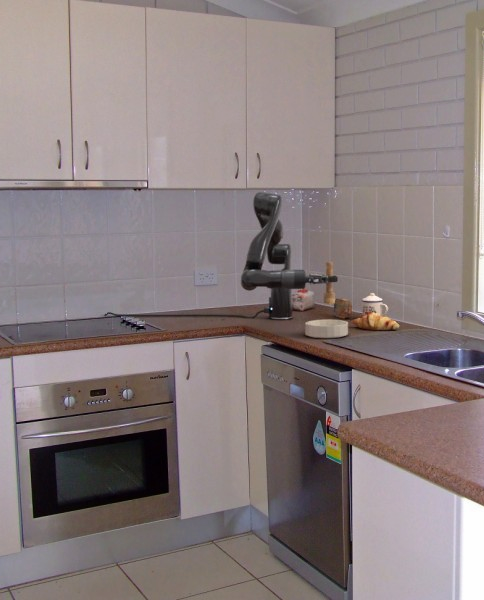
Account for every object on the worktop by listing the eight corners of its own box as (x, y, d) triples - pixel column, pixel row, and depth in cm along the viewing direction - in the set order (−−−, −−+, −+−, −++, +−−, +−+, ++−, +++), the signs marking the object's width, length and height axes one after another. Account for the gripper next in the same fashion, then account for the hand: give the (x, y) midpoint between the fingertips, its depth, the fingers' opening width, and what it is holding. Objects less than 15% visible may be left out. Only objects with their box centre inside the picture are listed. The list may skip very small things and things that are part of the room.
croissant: (401, 337, 341) (405, 319, 344) (393, 329, 333) (397, 310, 335) (354, 333, 350) (359, 315, 353) (345, 325, 342) (349, 306, 344)
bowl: (297, 337, 323) (297, 324, 322) (317, 331, 338) (316, 318, 337) (337, 340, 316) (337, 327, 316) (354, 333, 332) (354, 321, 331)
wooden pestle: (321, 303, 328) (321, 262, 326) (326, 302, 332) (326, 261, 330) (332, 303, 326) (331, 262, 324) (336, 302, 330) (336, 262, 328)
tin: (333, 315, 381) (333, 297, 380) (339, 315, 382) (339, 296, 381) (346, 320, 367) (346, 301, 366) (353, 319, 369) (353, 300, 368)
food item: (303, 311, 394) (303, 290, 392) (288, 310, 397) (288, 290, 395) (316, 308, 406) (316, 287, 405) (301, 307, 409) (301, 287, 408)
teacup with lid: (358, 320, 366) (358, 293, 365) (367, 317, 374) (367, 291, 373) (383, 322, 361) (383, 295, 359) (392, 319, 369) (392, 293, 367)
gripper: (294, 271, 318) (339, 270, 321) (290, 268, 332) (334, 267, 335) (294, 290, 319) (339, 290, 322) (291, 287, 333) (334, 286, 336)
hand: (336, 278), depth 328 cm, fingers closed on wooden pestle, 2 cm apart
